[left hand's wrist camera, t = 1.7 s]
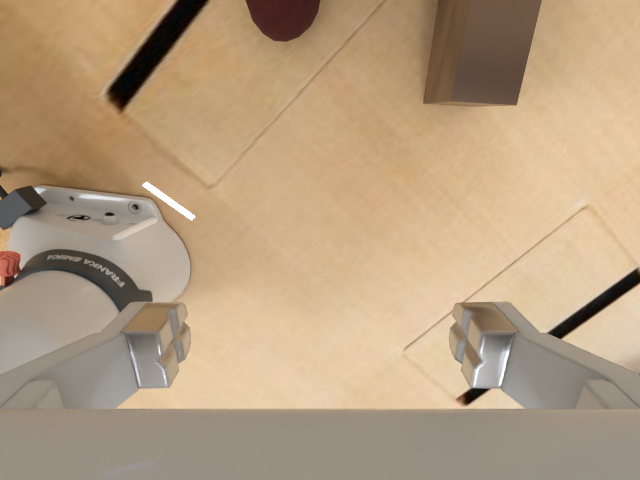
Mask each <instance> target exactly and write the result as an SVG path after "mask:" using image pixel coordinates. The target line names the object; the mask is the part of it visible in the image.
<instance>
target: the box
mask: <svg viewBox="0 0 640 480" xmlns="http://www.w3.org/2000/svg"><path fill="white" fill-rule="evenodd" d="M541 1H542V0H439V2H438V9H437V16H436V22H435V29H434V36H433V42H432V49H431V56H430V63H429V69H428V76H427V83H426V89H425V96H424V104H438V105H455V106H472V107H477V106H511V105H517V101H518V97H519V93H520V88H521V84H522V80H523V76H524V72H525V68H526V63H527V59H528V55H529V51H530V47H531V42H532V38H533V34H534V30H535V26H536V22H537V17H538V13H539V9H540V5H541Z"/></svg>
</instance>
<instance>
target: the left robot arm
mask: <svg viewBox="0 0 640 480" xmlns="http://www.w3.org/2000/svg"><path fill="white" fill-rule="evenodd" d="M1 176H2V173H1V171H0V177H1ZM143 186H144V187H145V188H147V189H148V190H150V191H151V192H153V193H154V194H155V195H157V196H158V197H160V198H161V199H162V200H164V201H165V202H167V203H168V204H169V205H171V206H172V207H174V208H175V209H176V210H178V211H179V212H181V213H182V214H184V215H185V216H186V217H188V218H189V219H191V220H192V219H193V218H194V217H195V216H194V215H192V214H191V213H190V212H188V211H187V210H185V209H184V208H183V207H181V206H180V205H178V204H177V203H176V202H174V201H173V200H171V199H170V198H169V197H167V196H166V195H164V194H163V193H162V192H160V191H159V190H157V189H156V188H155V187H153V186H152V185H150V184H149V183H148V182H147V183H144V185H143ZM0 197H1V198H2V200H1V201H0V227H1V228H2V229H3V230H5V229H8V228H10V227H12V228H11V231H10V234H9V238H8V244H7V251H6V252H5V251H1V252H0V276H2V285H1V286H0V480H640V375H639V374H637V373H635V372H632V371H630V370H628V369H626V368H623V367H621V366H619V365H617V364H614V363H612V362H610V361H608V360H605V359H603V358H601V357H599V356H596V355H594V354H592V353H590V352H587V351H585V350H583V349H581V348H578V347H576V346H574V345H572V344H569V343H567V342H565V341H563V340H560V339H558V338H556V337H554V336H552V335H549V334H547V333H540V332H539V331H538V330H537V329H536V328H535V327H534V326H533V325H532V324H531V323H530V322H529V321H528V320H527V319H526V318H525V317H524V316H523V315H522V314H521V313H520V312H519V311H518V310H517V309H516V308H515V307H514V306H513V305H512V304H511V303H509V302H506V301H505V302H473V303H456V304H455V306H454V308H453V314H452V316H453V317H454V319H455V320H456V322H455V324H454V325H453V326H452V327H451V328H450V334H449V342H450V349H451V352H452V354H453V356H454V358H455V360H457V361H458V362H460V363H461V364H462V367H461V371H462V373H463V375H464V377H465V379H466V380H467V382H468V384H469V386H470V388H497V389H502V391H503V392H505V393H506V394H507V395H509V396H510V397H511V398H512V399H514V400H515V401H516V402H517V403H519V404H520V405H521V406H523V407H524V408H525V409H115V408H116V407H118V406H119V405H120V404H121V403H123V402H124V401H125V400H127V399H128V398H129V397H130V396H132V395H133V394H134V393H135V392H137V391H138V389H143V388H170V386H171V384H172V382H173V380H174V379H175V377H176V375H177V373H178V371H179V367H178V364H179V363H180V362H182V361H183V360H185V358H186V356H187V354H188V352H189V348H190V344H191V333H190V328H189V327H188V326H187V325H186V324H185V322H184V320H185V319H186V317H187V316H188V314H187V309H186V305H185V304H184V303H183V302H172V301H173V300H175V299H176V298H177V297H178V296H180V295H181V293H182V292H183V291H184V290H185V288H186V286H187V284H188V281H189V278H190V271H191V266H190V259H189V255H188V252H187V250H186V247H185V245H184V244H183V242H182V240H181V239H180V238H179V236H178V235H177V234H176V233H175V232H174V231H173V230H172V229H171V228H170V227H169V226H168V225H167V223H166V222H165V221H164V220H163V217H162V215H161V213H160V211H159V209H158V207H157V205H156V203H155V202H154V201H153V200H152V199H150V198H147V197H139V196H130V195H122V194H114V193H105V192H97V191H89V190H80V189H72V188H64V187H55V186H46V185H39V186H36V187H34V188H33V187H32V186H27V187H23V188H19V189H15V190H14V191H12V192H11V193H10V194H7V193H6V191H5V190H4V189H3V188H2V187H1V185H0ZM135 204H136V205H138V207H139V209H137V208H135Z"/></svg>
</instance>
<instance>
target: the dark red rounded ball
mask: <svg viewBox="0 0 640 480" xmlns="http://www.w3.org/2000/svg"><path fill="white" fill-rule="evenodd" d="M246 3H247V6H248V8H249V11H250V14H251V17H252V19H253V21H254V23H255V24H256V25H257V26H258V28H259V29H260V30H261V31H262V33H263V34H265V35H266V36H268V37H269V38H271V39H272V40H274V41H284V42H287V41H289V40H292V39H295V38H297V37H299V36H300V35H301V34H302V33H304V32H305V31H306V30H307V29H308V28H309V27H310V26H311V24H312V22H313V20H314V18H315V16H316V14H317V13H318V9H319V4H320V0H246Z"/></svg>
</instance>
